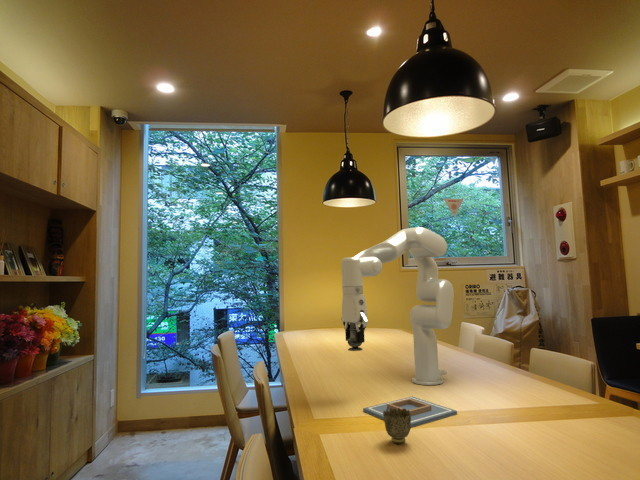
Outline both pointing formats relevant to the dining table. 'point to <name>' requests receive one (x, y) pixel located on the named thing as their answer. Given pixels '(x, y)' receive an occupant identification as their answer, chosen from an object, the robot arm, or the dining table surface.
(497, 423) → the dining table surface
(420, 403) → the board
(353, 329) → the dark grey chess piece
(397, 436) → the cup
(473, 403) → the dining table surface
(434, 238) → the robot arm
